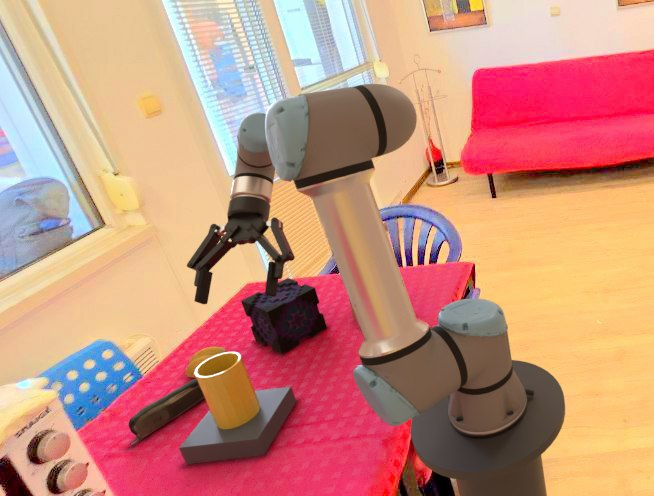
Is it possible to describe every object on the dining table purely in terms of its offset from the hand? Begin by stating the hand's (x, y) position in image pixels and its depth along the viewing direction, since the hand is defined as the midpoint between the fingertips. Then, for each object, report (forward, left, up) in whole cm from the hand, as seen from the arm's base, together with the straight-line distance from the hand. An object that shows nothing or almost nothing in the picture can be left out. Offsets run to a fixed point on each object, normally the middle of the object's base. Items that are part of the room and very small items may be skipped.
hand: (235, 299), depth 103 cm
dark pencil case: (+18, +4, -24) cm, 30 cm away
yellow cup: (0, +10, -20) cm, 22 cm away
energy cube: (+5, -22, -24) cm, 33 cm away
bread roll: (+20, -12, -24) cm, 34 cm away
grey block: (0, +11, -24) cm, 26 cm away
